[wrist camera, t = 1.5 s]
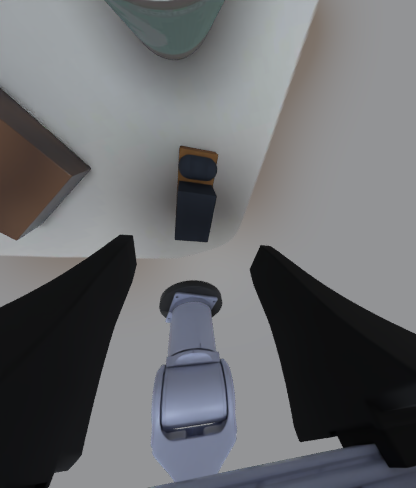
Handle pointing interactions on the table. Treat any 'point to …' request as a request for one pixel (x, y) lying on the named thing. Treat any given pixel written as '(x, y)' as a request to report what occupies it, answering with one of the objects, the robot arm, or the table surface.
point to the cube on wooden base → (195, 194)
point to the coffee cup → (168, 23)
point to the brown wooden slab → (31, 170)
